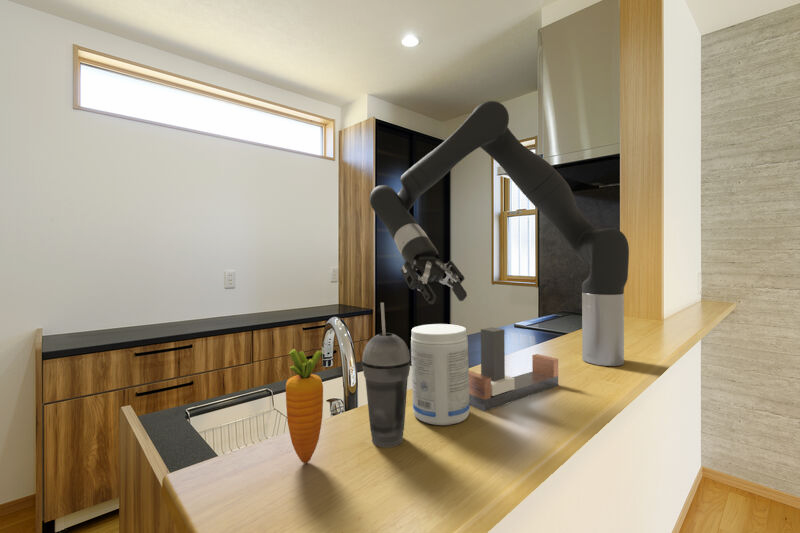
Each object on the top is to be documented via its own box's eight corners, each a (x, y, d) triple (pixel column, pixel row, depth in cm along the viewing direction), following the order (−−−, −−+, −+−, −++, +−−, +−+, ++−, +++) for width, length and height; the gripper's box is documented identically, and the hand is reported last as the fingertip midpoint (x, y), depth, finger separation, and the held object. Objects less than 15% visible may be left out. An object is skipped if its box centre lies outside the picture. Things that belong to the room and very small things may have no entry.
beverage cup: (374, 457, 50) (372, 307, 49) (355, 435, 56) (353, 302, 56) (421, 444, 53) (420, 303, 53) (398, 424, 59) (396, 299, 59)
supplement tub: (463, 403, 68) (462, 322, 68) (475, 426, 58) (474, 333, 58) (410, 404, 68) (409, 323, 67) (413, 428, 58) (412, 334, 58)
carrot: (329, 454, 51) (328, 344, 50) (318, 475, 46) (316, 353, 45) (294, 452, 51) (292, 343, 51) (279, 473, 46) (276, 352, 46)
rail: (537, 379, 81) (536, 354, 81) (558, 385, 77) (558, 358, 77) (464, 402, 68) (463, 372, 68) (484, 411, 64) (484, 379, 64)
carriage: (493, 381, 73) (492, 325, 73) (514, 389, 69) (514, 329, 69) (471, 388, 69) (471, 329, 69) (492, 396, 65) (492, 333, 65)
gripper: (396, 234, 81) (431, 290, 72) (445, 236, 89) (482, 286, 80) (383, 258, 86) (414, 314, 76) (431, 258, 94) (464, 308, 85)
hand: (449, 299), depth 78 cm, fingers open, 8 cm apart
